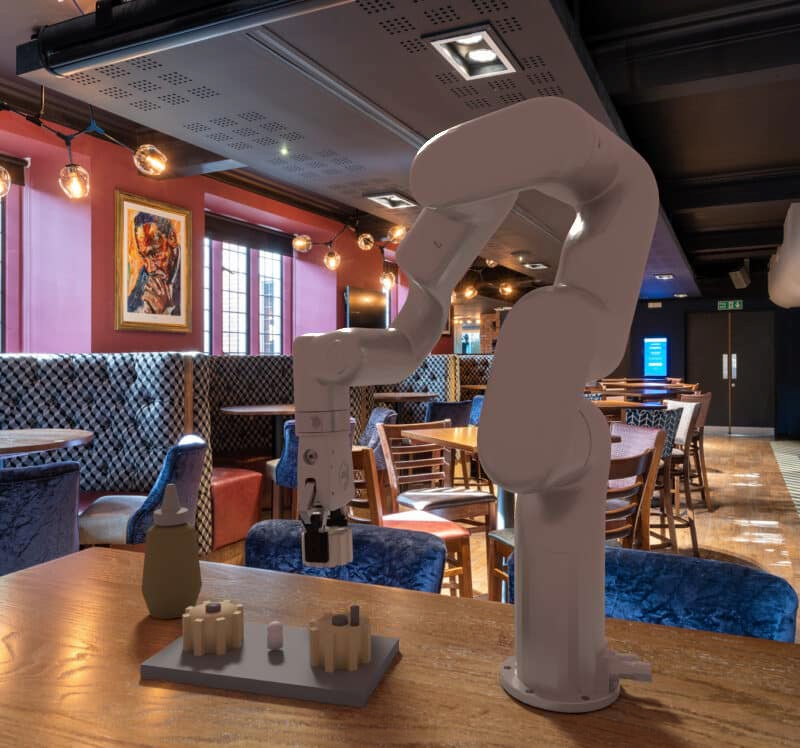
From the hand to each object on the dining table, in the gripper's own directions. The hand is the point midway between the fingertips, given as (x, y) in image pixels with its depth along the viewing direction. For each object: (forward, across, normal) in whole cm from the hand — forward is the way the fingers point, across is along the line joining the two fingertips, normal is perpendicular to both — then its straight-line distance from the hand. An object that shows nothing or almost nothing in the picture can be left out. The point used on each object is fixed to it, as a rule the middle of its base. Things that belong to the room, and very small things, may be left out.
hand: (327, 553), depth 92 cm
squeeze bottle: (+8, -4, +22) cm, 24 cm away
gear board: (+9, -15, +1) cm, 17 cm away
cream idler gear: (+1, 0, 0) cm, 1 cm away
